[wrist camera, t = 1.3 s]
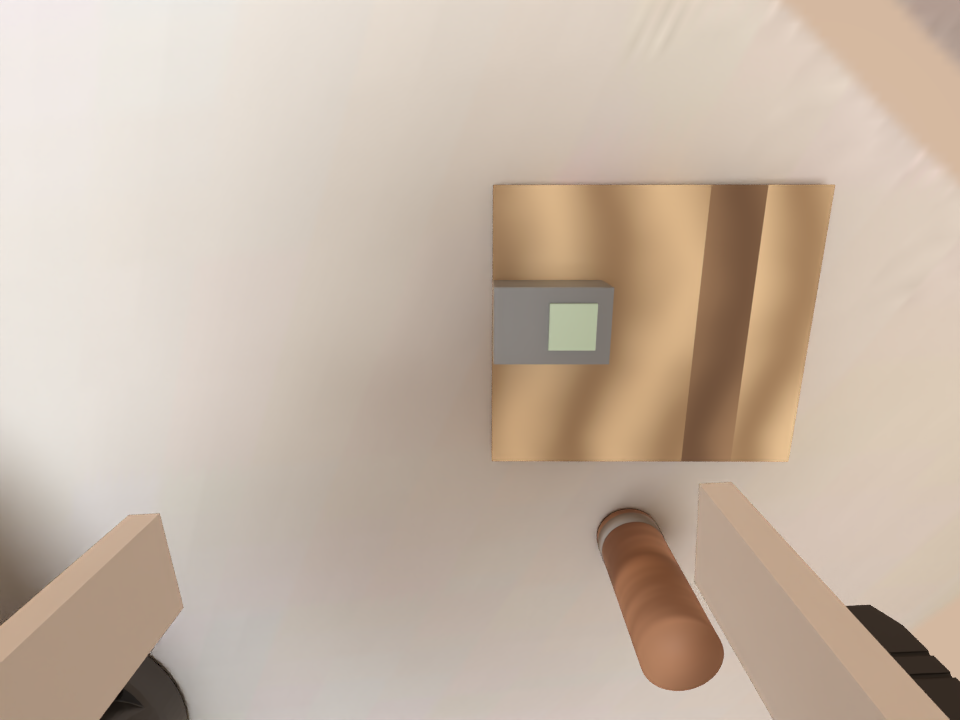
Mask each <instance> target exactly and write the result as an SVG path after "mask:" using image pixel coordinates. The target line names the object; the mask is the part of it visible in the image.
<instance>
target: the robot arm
mask: <svg viewBox="0 0 960 720" xmlns="http://www.w3.org/2000/svg"><path fill="white" fill-rule="evenodd" d="M694 582H695V584H696V586H697V587H698V589H699V591H700V593H701V594H702V596H703V598H704V600H705V601H706V603H707V605H708V607H709V608H710V610H711V612H712V614H713V615H714V617H715V619H716V621H717V622H718V624H719V626H720V628H721V629H722V631H723V633H724V635H725V636H726V638H727V640H728V642H729V643H730V645H731V647H732V649H733V650H734V652H735V654H736V656H737V657H738V659H739V661H740V663H741V664H742V666H743V668H744V670H745V671H746V673H747V675H748V677H749V678H750V680H751V682H752V684H753V685H754V687H755V689H756V691H757V692H758V694H759V696H760V698H761V699H762V701H763V703H764V705H765V706H766V708H767V710H768V712H769V713H770V715H771V717H772V719H773V720H960V681H959V680H958V679H956V678H952V676H951V674H950V671H949V670H947V668H945V666H944V665H942V664H941V663H940V662H939V661H938V660H937V659H936V658H935V657H934V656H930V655H929V652H928V650H927V649H926V648H925V647H924V646H923V645H922V644H921V643H920V642H919V641H918V640H917V639H916V638H915V637H914V636H913V635H912V634H911V633H910V632H909V631H908V630H907V629H906V628H905V627H904V626H903V625H901V624H900V623H898V622H897V621H895V620H893V619H892V618H890V617H889V616H887V615H885V614H884V613H882V612H881V611H879V610H877V609H876V608H874V607H873V606H871V605H856V606H845V605H844V604H843V603H842V602H841V601H840V600H839V599H838V597H837V596H836V595H835V594H834V593H833V592H832V591H831V590H830V589H829V588H828V587H827V585H826V584H825V583H824V582H823V581H822V580H821V579H820V578H819V577H818V576H817V575H816V573H815V572H814V571H813V570H812V569H811V568H810V567H809V566H808V565H807V564H806V563H805V562H804V560H803V559H802V558H801V557H800V556H799V555H798V554H797V553H796V552H795V551H794V550H793V548H792V547H791V546H790V545H789V544H788V543H787V542H786V541H785V540H784V539H783V538H782V536H781V535H780V534H779V533H778V532H777V531H776V530H775V529H774V528H773V527H772V526H771V525H770V523H769V522H768V521H767V520H766V519H765V518H764V517H763V516H762V515H761V514H760V513H759V511H758V510H757V509H756V508H755V507H754V506H753V505H752V504H751V503H750V502H749V501H748V499H747V498H746V497H745V496H744V495H743V494H742V493H741V492H740V491H739V490H738V489H737V487H736V486H735V485H734V484H733V483H732V482H724V483H706V484H699V500H698V519H697V538H696V557H695V576H694ZM183 608H184V607H183V604H182V600H181V596H180V592H179V588H178V584H177V580H176V576H175V572H174V568H173V564H172V560H171V556H170V552H169V548H168V544H167V540H166V536H165V533H164V529H163V525H162V521H161V517H160V513H157V514H139V515H128V516H127V517H126V518H125V519H124V520H123V521H121V522H120V523H119V524H118V525H117V526H116V527H114V528H113V529H112V530H111V531H110V532H109V533H107V534H106V535H105V536H104V537H103V538H102V539H100V540H99V541H98V542H97V543H96V544H95V545H94V546H92V547H91V548H90V549H89V550H88V551H87V552H85V553H84V554H83V555H82V556H81V557H80V558H78V559H77V560H76V561H75V562H74V563H73V564H72V565H70V566H69V567H68V568H67V569H66V570H65V571H63V572H62V573H61V574H60V575H59V576H58V577H56V578H55V579H54V580H53V581H52V582H51V583H49V584H48V585H47V586H46V587H45V588H44V589H43V590H41V591H40V592H39V593H38V594H37V595H36V596H34V597H33V598H32V599H31V600H30V601H29V602H27V603H26V604H25V605H24V606H23V607H22V608H20V609H19V610H18V611H17V612H16V613H15V614H14V615H12V616H11V617H10V618H9V619H8V620H7V621H5V622H4V623H3V624H2V625H1V626H0V720H187V714H186V709H185V705H184V702H183V700H182V697H181V695H180V693H179V691H178V689H177V687H176V686H175V684H174V683H173V681H172V680H171V679H170V677H169V676H168V675H167V674H166V672H165V671H164V670H163V669H162V668H161V667H160V666H159V665H158V664H157V663H155V662H154V661H153V660H152V659H151V658H149V657H148V654H149V653H150V652H151V650H152V649H153V648H154V646H155V645H156V644H157V642H158V641H159V640H160V638H161V637H162V636H163V634H164V633H165V632H166V630H167V629H168V628H169V626H170V625H171V624H172V622H173V621H174V620H175V618H176V617H177V616H178V614H179V613H180V612H181V610H182V609H183Z"/></svg>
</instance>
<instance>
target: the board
mask: <svg viewBox="0 0 960 720" xmlns="http://www.w3.org/2000/svg"><path fill="white" fill-rule="evenodd" d="M834 189H835V185H493V280H602V281H604V282H606V283H608V284H609V285H611V286H613V287H614V300H613V315H612V330H611V345H610V359H609V364H494V363H493V295H492V461H768V462H788V460H789V454H790V448H791V442H792V436H793V430H794V424H795V418H796V413H797V407H798V401H799V395H800V389H801V383H802V377H803V371H804V366H805V360H806V354H807V348H808V342H809V336H810V330H811V324H812V318H813V313H814V307H815V301H816V295H817V289H818V283H819V277H820V271H821V265H822V260H823V254H824V248H825V242H826V236H827V230H828V224H829V218H830V212H831V207H832V201H833V195H834Z"/></svg>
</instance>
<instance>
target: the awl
mask: <svg viewBox="0 0 960 720" xmlns="http://www.w3.org/2000/svg"><path fill="white" fill-rule="evenodd" d="M597 542H598V547H599V550H600V553H601V556H602V559H603V561H604V563H605V565H606V568H607V571H608V574H609V577H610V580H611V583H612V585H613V588H614V591H615V594H616V597H617V600H618V603H619V606H620V608H621V611H622V614H623V617H624V620H625V623H626V626H627V629H628V631H629V634H630V637H631V640H632V643H633V646H634V649H635V652H636V655H637V657H638V660H639V663H640V666H641V669H642V671H643V673H644V675H645V676H646V678H647V679H648V680H649V681H650V682H652V683H653V684H654V685H656V686H658V687H660V688H663V689H667V690H672V691H684V690H689V689H693V688H696V687H699V686H701V685H703V684H705V683H706V682H708V681H709V680H710V679H712V678H713V677H714V676H715V675H716V673H717V672H718V671H719V669H720V667H721V665H722V662H723V658H724V650H723V646H722V643H721V641H720V639H719V637H718V635H717V634H716V632H715V630H714V628H713V626H712V625H711V623H710V621H709V619H708V617H707V616H706V614H705V612H704V610H703V608H702V606H701V605H700V603H699V601H698V599H697V597H696V596H695V594H694V592H693V590H692V588H691V587H690V585H689V583H688V581H687V579H686V578H685V576H684V574H683V572H682V570H681V569H680V567H679V565H678V563H677V561H676V560H675V558H674V556H673V554H672V552H671V551H670V549H669V547H668V545H667V543H666V542H665V539H664V536H663V534H662V533H661V531H660V529H659V527H658V526H657V524H656V523H655V522H654V520H653V519H652V518H651V517H650V516H649V515H648V514H646V513H645V512H642V511H640V510H636V509H623V510H619V511H616V512H614V513H612V514H610V515H609V516H608V517H607V518H605V519H604V521H603V522H602V523H601V525H600V527H599V529H598V533H597Z"/></svg>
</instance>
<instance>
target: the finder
mask: <svg viewBox="0 0 960 720" xmlns="http://www.w3.org/2000/svg"><path fill="white" fill-rule="evenodd" d="M613 300H614V287H613V286H611V285H609V284H608V283H606V282H604V281H602V280H493V363H494V364H609V359H610V345H611V330H612V315H613Z"/></svg>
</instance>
